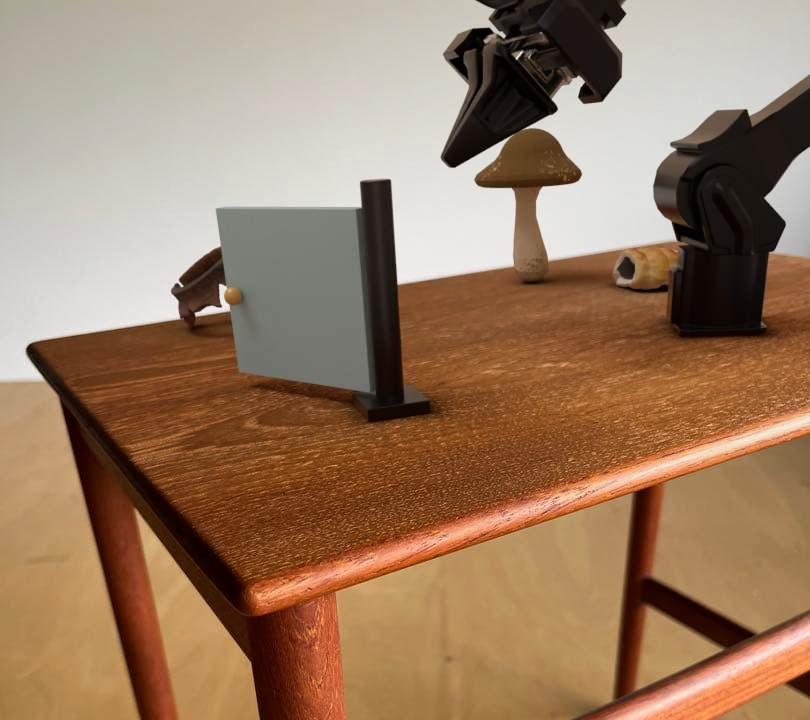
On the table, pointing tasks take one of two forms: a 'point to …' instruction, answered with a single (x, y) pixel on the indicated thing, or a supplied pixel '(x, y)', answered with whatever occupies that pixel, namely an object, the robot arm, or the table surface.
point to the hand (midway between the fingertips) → (446, 163)
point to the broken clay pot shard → (200, 286)
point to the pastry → (644, 267)
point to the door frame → (384, 311)
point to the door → (299, 293)
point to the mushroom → (529, 191)
